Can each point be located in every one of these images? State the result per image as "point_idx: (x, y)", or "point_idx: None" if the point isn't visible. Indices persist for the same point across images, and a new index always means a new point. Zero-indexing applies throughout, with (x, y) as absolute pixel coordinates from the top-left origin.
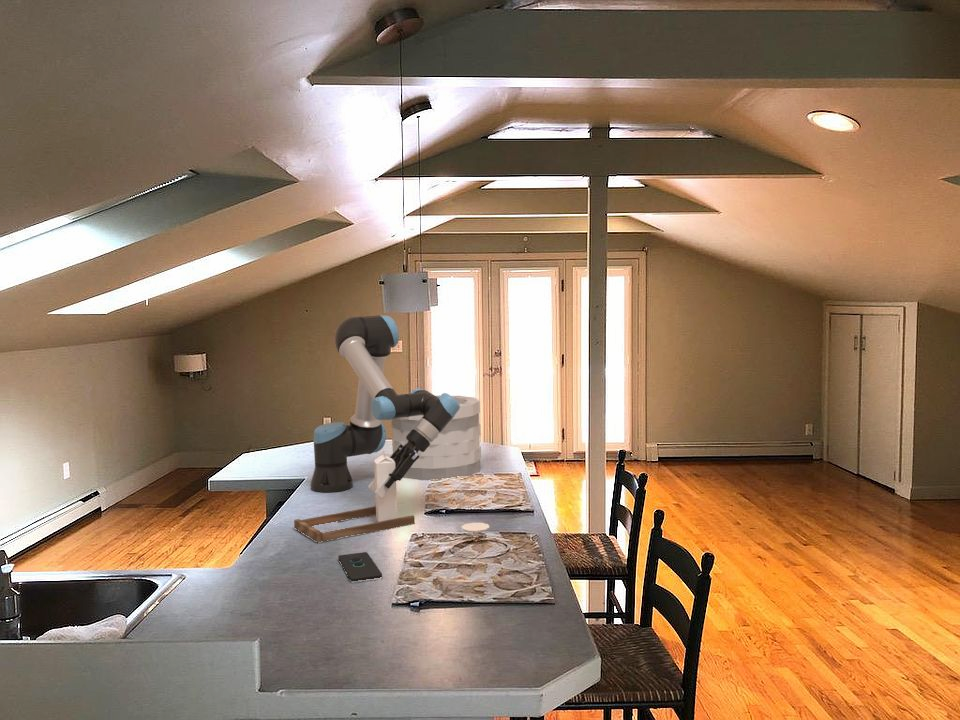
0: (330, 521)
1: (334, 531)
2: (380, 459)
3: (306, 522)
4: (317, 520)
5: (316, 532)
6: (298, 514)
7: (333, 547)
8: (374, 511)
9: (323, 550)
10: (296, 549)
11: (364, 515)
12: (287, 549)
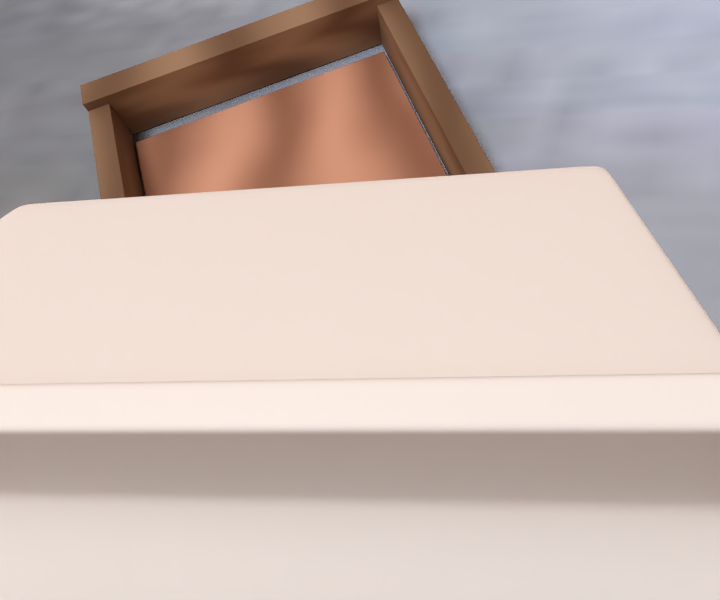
0: (446, 159)
1: (100, 162)
2: (110, 293)
3: (390, 39)
4: (413, 85)
5: (100, 81)
6: (703, 9)
7: (18, 186)
8: None
9: (4, 148)
10: (82, 55)
11: None
12: (102, 26)
